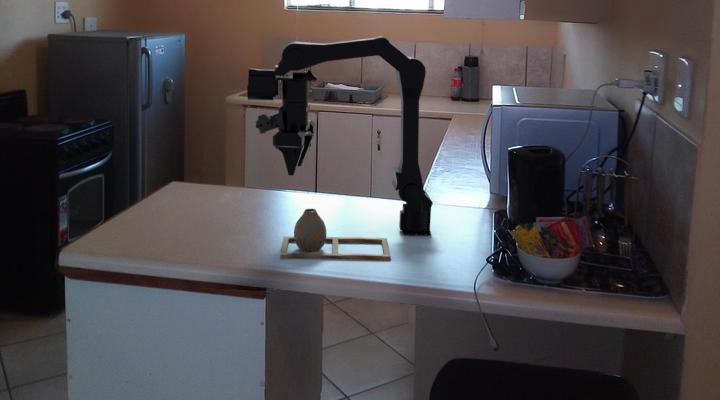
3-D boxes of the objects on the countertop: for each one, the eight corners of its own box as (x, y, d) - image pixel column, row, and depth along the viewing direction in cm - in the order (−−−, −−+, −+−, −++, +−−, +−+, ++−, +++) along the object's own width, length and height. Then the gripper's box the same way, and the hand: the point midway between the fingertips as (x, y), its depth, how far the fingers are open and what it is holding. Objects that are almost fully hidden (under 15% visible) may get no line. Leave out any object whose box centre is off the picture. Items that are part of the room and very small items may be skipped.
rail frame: (386, 241, 170) (386, 237, 169) (390, 260, 158) (390, 255, 158) (283, 239, 169) (283, 235, 168) (279, 258, 157) (279, 254, 157)
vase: (309, 242, 168) (309, 203, 166) (332, 249, 164) (333, 210, 161) (287, 249, 163) (287, 209, 160) (310, 257, 158) (311, 216, 156)
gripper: (268, 94, 177) (268, 160, 181) (248, 105, 159) (249, 178, 163) (316, 95, 176) (315, 162, 180) (301, 107, 158) (301, 181, 162)
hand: (295, 170), depth 171 cm, fingers open, 9 cm apart
